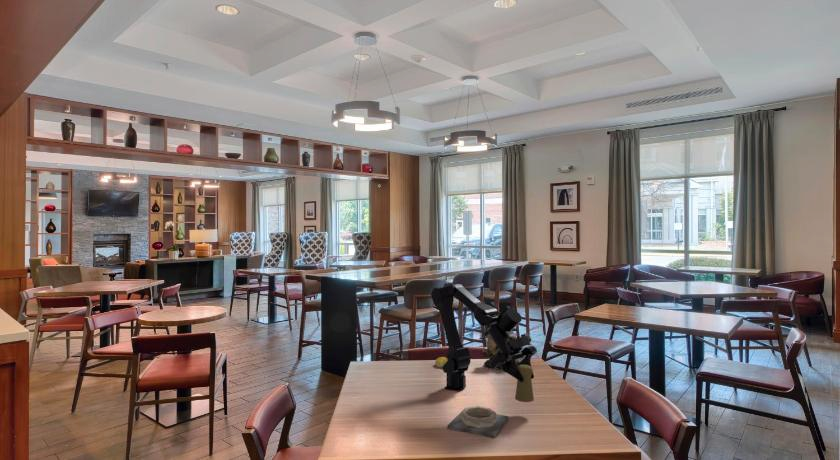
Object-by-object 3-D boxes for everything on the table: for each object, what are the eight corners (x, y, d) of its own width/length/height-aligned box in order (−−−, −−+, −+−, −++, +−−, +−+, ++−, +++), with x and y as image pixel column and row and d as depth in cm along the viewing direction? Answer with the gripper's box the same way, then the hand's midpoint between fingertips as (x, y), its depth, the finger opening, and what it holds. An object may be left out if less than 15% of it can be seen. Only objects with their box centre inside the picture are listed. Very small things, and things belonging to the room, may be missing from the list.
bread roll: (440, 362, 216) (440, 353, 216) (458, 365, 211) (458, 356, 211) (431, 367, 209) (431, 357, 209) (449, 370, 204) (449, 361, 204)
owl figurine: (484, 370, 204) (484, 330, 204) (479, 363, 215) (479, 325, 215) (526, 369, 205) (525, 330, 205) (518, 362, 216) (518, 324, 216)
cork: (534, 402, 152) (534, 368, 152) (514, 401, 153) (515, 367, 153) (533, 396, 158) (533, 363, 158) (515, 394, 159) (515, 362, 159)
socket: (447, 428, 144) (447, 417, 144) (464, 411, 158) (464, 400, 158) (495, 438, 138) (495, 426, 138) (508, 419, 151) (508, 408, 151)
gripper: (496, 329, 152) (523, 372, 144) (533, 322, 164) (560, 361, 156) (478, 348, 159) (503, 390, 150) (515, 340, 170) (539, 379, 162)
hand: (527, 379), depth 154 cm, fingers closed on cork, 5 cm apart
